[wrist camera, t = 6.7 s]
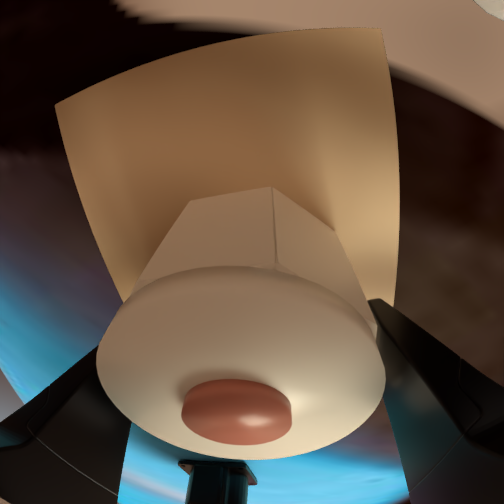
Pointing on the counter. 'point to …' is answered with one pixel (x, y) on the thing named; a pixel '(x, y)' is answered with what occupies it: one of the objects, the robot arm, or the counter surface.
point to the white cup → (492, 7)
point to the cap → (245, 334)
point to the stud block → (243, 143)
